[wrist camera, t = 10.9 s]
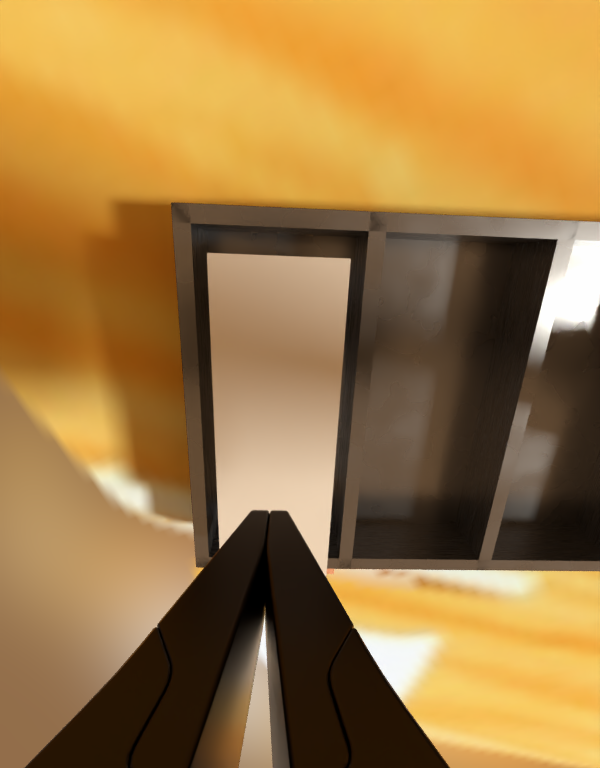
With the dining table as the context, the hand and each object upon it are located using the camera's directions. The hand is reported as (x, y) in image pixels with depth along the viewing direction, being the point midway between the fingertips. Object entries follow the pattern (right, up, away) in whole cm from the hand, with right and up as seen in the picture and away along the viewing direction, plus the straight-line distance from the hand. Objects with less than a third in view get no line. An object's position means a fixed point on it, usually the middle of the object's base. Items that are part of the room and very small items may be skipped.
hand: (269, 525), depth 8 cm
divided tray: (+6, +3, +9) cm, 11 cm away
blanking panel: (0, +3, +8) cm, 9 cm away
